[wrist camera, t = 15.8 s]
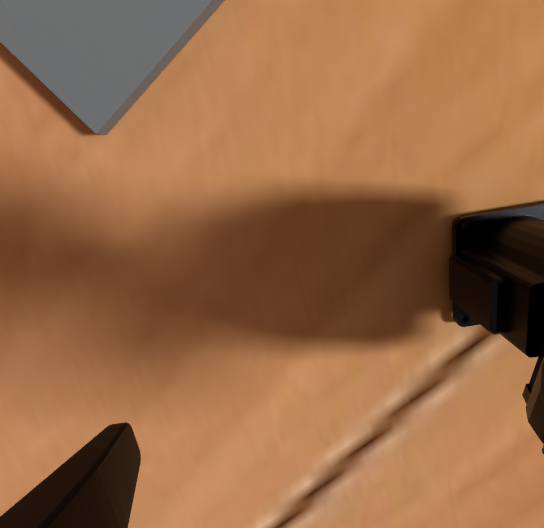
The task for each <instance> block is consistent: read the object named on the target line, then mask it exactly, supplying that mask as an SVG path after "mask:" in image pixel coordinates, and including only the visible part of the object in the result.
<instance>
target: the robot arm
mask: <svg viewBox="0 0 544 528" xmlns="http://www.w3.org/2000/svg"><path fill="white" fill-rule="evenodd" d="M464 222H466V227H465V228H464V229H462V230H461V225H462V223H464ZM452 251H453V255H452V256H451V257H450V259H449V286H450V299H451V300H452V301H453V319H454V321H455V322H456V323H457V324H458V325H459V326H462V327H466V326H473V325H479V324H481V325H482V326H483V327H484V328H485V329H487V330H488V331H489V332H490V333H492V334H494V335H495V334H501V335H502V336H503V337H504V338H506V339H507V340H508V341H509V342H511V343H512V344H513V345H514V346H516V347H517V348H518V349H519V350H521V351H522V352H523V353H524V354H526V355H527V356H528V357H538V356H539V357H538V360H537V363H536V366H535V369H534V371H533V374H532V377H531V380H530V383H529V384H526V386H525V388H524V391H523V394H522V395H523V397H524V399H525V402H526V404H527V405H526V412H527V418H528V422H529V424H530V425H531V427H532V428H533V430H534V431H535V433H536V434H537V436H538V437H539V439H540V440H541V441H542V442H543V444H544V203H539V204H532V205H526V206H520V207H514V208H508V209H502V210H496V211H489V212H483V213H477V214H471V215H465V216H460V217H458V218H457V219H455V221H454V222H453V226H452ZM464 315H466V317H465V318H464V319H462V320H461V317H462V316H464ZM542 453H543V454H544V445H543V448H542ZM140 461H141V455H140V450H139V447H138V444H137V441H136V438H135V435H134V432H133V430H132V427H131V425H130V424H129V423H126V422H125V423H118V424H112V425H109V426H108V427H106V428H105V429H104V430H103V431H102V432H100V433H99V434H98V435H97V436H96V437H94V438H93V439H92V440H91V441H90V442H88V443H87V444H86V445H85V446H84V447H83V448H81V449H80V450H79V451H78V452H77V453H75V454H74V455H73V456H72V457H71V458H69V459H68V460H67V461H66V462H65V463H64V464H62V465H61V466H60V467H59V468H58V469H56V470H55V471H54V472H53V473H52V474H50V475H49V476H48V477H47V478H46V479H45V480H43V481H42V482H41V483H40V484H39V485H37V486H36V487H35V488H34V489H33V490H31V491H30V492H29V493H28V494H27V495H26V496H24V497H23V498H22V499H21V500H20V501H18V502H17V503H16V504H15V505H14V506H12V507H11V508H10V509H9V510H8V511H7V512H5V513H4V514H3V515H2V516H1V517H0V528H128V523H129V518H130V513H131V508H132V503H133V498H134V493H135V488H136V482H137V477H138V472H139V467H140Z"/></svg>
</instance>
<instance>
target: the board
mask: <svg viewBox="0 0 544 528" xmlns="http://www.w3.org/2000/svg"><path fill="white" fill-rule="evenodd" d="M223 1H224V0H0V42H1V43H2V44H3V45H4V46H5V47H6V48H7V49H8V50H9V51H10V52H11V53H12V54H13V55H14V56H15V57H16V58H17V59H18V60H19V61H20V62H21V63H23V64H24V65H25V66H26V67H27V68H28V69H29V70H30V71H31V72H32V73H33V74H34V75H35V76H36V77H37V78H38V79H39V80H40V81H41V82H42V83H43V84H44V85H45V86H46V87H48V88H49V89H50V90H51V91H52V92H53V93H54V94H55V95H56V96H57V97H58V98H59V99H60V100H61V101H62V102H63V103H64V104H65V105H66V106H67V107H68V108H69V109H70V110H71V111H73V112H74V113H75V114H76V115H77V116H78V117H79V118H80V119H81V120H82V121H83V122H84V123H85V124H86V125H87V126H88V127H89V128H90V129H91V130H92V131H93V132H94V133H95V134H102V135H107V134H108V133H109V131H110V130H111V129H112V128H113V127H114V126H115V125H116V123H117V122H118V121H119V120H120V119H121V118H122V117H123V115H124V114H125V113H126V112H127V111H128V110H129V109H130V107H131V106H132V105H133V104H134V103H135V102H136V101H137V99H138V98H139V97H140V96H141V95H142V94H143V93H144V91H145V90H146V89H147V88H148V87H149V86H150V85H151V83H152V82H153V81H154V80H155V79H156V78H157V77H158V75H159V74H160V73H161V72H162V71H163V70H164V69H165V68H166V66H167V65H168V64H169V63H170V62H171V61H172V60H173V58H174V57H175V56H176V55H177V54H178V53H179V52H180V50H181V49H182V48H183V47H184V46H185V45H186V44H187V42H188V41H189V40H190V39H191V38H192V37H193V36H194V34H195V33H196V32H197V31H198V30H199V29H200V28H201V26H202V25H203V24H204V23H205V22H206V21H207V20H208V18H209V17H210V16H211V15H212V14H213V13H214V12H215V10H216V9H217V8H218V7H219V6H220V5H221V4H222V3H223Z"/></svg>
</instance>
